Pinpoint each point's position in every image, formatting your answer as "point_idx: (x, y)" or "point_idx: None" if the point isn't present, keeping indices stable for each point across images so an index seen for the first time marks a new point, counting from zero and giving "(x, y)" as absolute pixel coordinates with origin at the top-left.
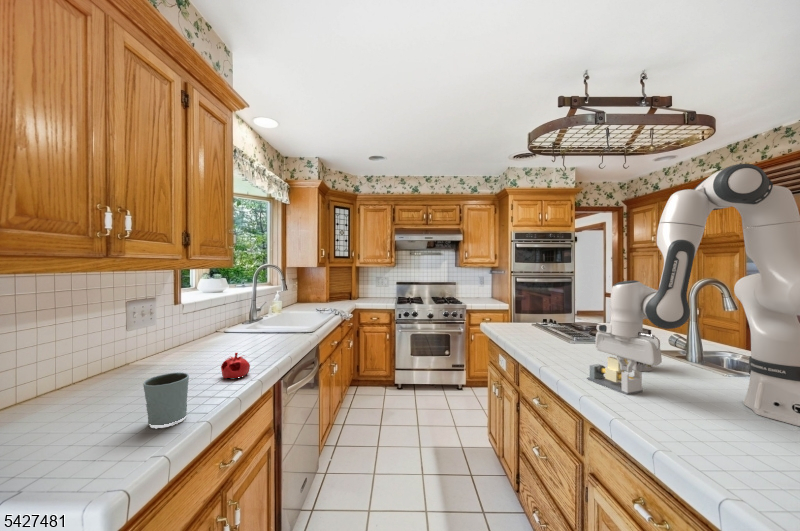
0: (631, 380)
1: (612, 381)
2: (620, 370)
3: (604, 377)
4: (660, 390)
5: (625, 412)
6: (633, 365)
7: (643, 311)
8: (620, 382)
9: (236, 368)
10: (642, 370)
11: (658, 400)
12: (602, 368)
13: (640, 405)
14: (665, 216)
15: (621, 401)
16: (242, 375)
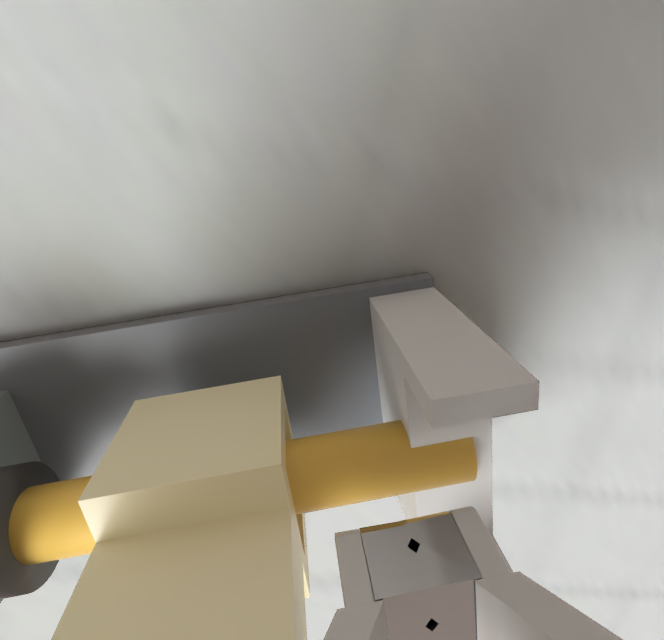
0: (488, 493)
1: (146, 382)
2: (296, 532)
3: (3, 377)
4: (448, 10)
5: (629, 627)
6: (556, 600)
7: None
8: (188, 325)
9: None
10: None
11: (610, 298)
12: (33, 563)
13: (608, 495)
14: None
15: (514, 560)
16: None
